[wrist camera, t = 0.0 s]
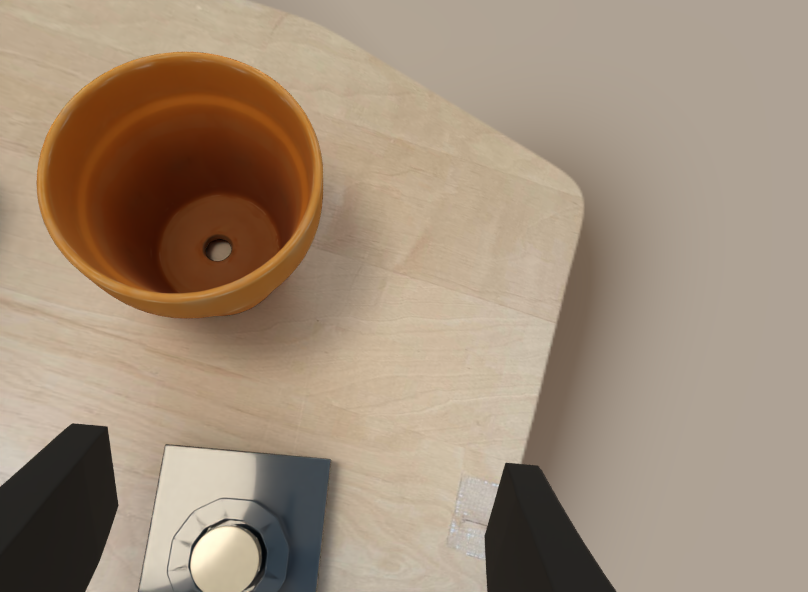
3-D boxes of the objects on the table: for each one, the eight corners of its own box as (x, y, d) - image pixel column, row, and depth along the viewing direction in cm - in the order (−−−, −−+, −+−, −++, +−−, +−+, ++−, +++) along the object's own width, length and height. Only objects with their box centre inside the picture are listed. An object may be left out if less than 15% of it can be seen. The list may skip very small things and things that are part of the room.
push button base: (308, 669, 40) (305, 687, 36) (135, 657, 39) (113, 674, 35) (331, 461, 43) (330, 457, 40) (173, 446, 43) (157, 441, 39)
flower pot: (296, 379, 45) (282, 331, 32) (84, 330, 44) (-12, 263, 32) (346, 190, 49) (351, 85, 37) (154, 144, 49) (93, 22, 36)
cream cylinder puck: (257, 596, 37) (253, 600, 36) (191, 591, 37) (184, 595, 36) (266, 527, 39) (263, 528, 37) (202, 522, 38) (196, 523, 37)
